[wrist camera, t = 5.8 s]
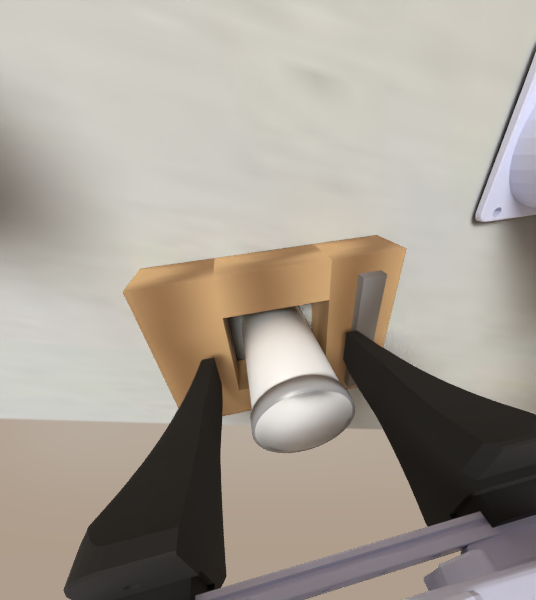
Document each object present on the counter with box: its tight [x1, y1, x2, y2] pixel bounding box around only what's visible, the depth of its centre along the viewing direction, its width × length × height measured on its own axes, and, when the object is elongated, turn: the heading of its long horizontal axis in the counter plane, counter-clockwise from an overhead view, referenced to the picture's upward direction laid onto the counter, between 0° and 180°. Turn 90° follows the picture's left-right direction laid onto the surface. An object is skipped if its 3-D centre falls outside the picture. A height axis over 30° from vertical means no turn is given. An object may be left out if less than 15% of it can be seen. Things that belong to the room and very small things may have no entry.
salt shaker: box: [241, 306, 355, 453], centre depth 12 cm, size 4×4×7 cm
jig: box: [123, 235, 406, 416], centre depth 14 cm, size 13×10×3 cm
